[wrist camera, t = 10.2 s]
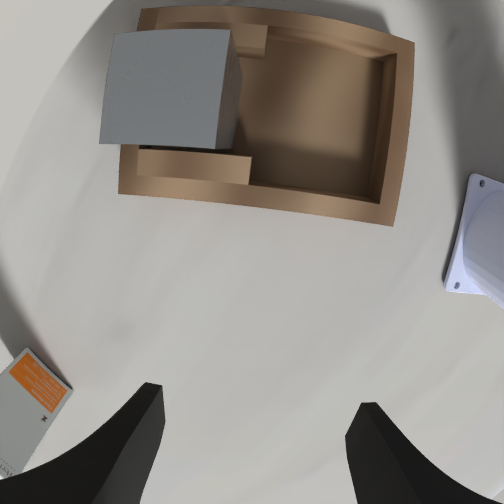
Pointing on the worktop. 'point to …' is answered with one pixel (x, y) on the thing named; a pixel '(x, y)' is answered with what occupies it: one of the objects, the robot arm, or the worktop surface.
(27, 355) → the skincare box
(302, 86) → the wooden tray
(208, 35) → the metal peg
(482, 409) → the worktop surface
